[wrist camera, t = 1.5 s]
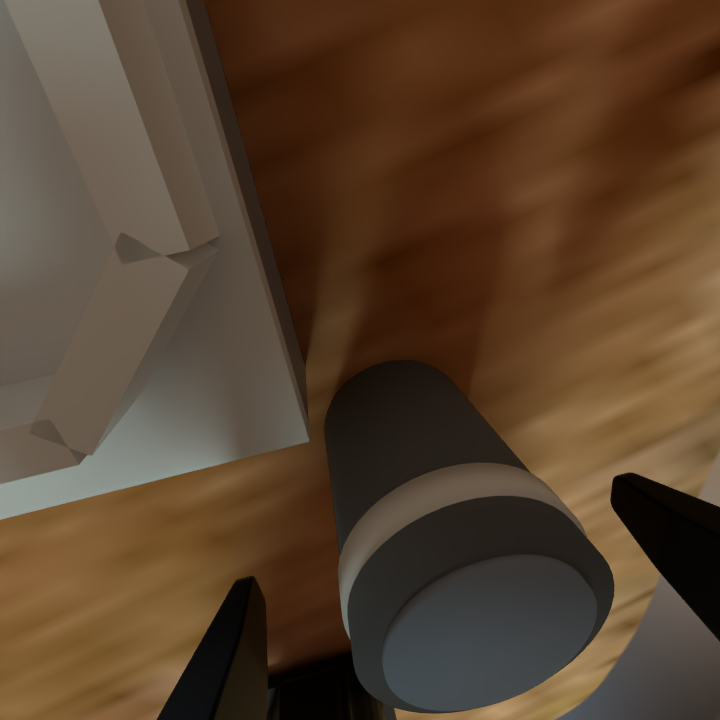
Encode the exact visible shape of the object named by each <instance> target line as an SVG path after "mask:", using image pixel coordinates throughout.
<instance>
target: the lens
mask: <svg viewBox="0 0 720 720" xmlns="http://www.w3.org/2000/svg"><path fill="white" fill-rule="evenodd" d="M324 430H325V442H326V450H327V458H328V466H329V474H330V482H331V490H332V498H333V506H334V514H335V521H336V529H337V537H338V545H339V553H340V559H339V565H338V583H339V592H340V601H341V610H342V618H343V623H344V627H345V630H346V632H347V634H348V637H349V639H350V641H351V649H352V657H353V664H354V668H355V673H356V675H357V677H358V679H359V681H360V683H361V684H362V686H363V687H364V688H365V690H366V691H367V692H368V693H370V694H371V695H372V696H373V697H374V698H376V699H378V700H379V701H381V702H383V703H384V704H387V705H389V706H392V707H394V708H398V709H401V710H405V711H411V712H418V713H451V712H459V711H466V710H471V709H476V708H480V707H485V706H489V705H492V704H496V703H499V702H502V701H505V700H508V699H510V698H513V697H515V696H517V695H520V694H522V693H524V692H526V691H528V690H530V689H532V688H534V687H535V686H537V685H539V684H541V683H542V682H544V681H545V680H547V679H548V678H550V677H551V676H553V675H554V674H556V673H557V672H559V671H560V670H561V669H563V668H564V667H565V666H566V665H568V664H569V663H570V662H571V661H573V660H574V659H575V658H576V657H577V656H578V655H579V654H580V653H581V652H582V651H583V650H584V649H585V648H586V647H587V646H588V645H589V644H590V642H591V641H592V640H593V639H594V637H595V636H596V635H597V633H598V632H599V631H600V629H601V627H602V626H603V624H604V622H605V620H606V619H607V616H608V614H609V611H610V609H611V606H612V601H613V597H614V580H613V574H612V572H611V569H610V567H609V565H608V563H607V562H606V560H605V559H604V557H603V556H602V555H601V554H600V552H599V551H598V550H597V549H596V548H595V547H594V545H593V544H592V543H591V542H590V541H589V540H588V539H587V536H586V534H585V531H584V529H583V527H582V525H581V524H580V522H579V521H578V519H577V518H576V517H575V515H574V514H573V513H572V512H571V511H570V510H569V509H568V508H567V506H566V505H565V504H564V503H563V502H562V501H561V500H560V499H559V497H558V496H557V495H556V494H555V493H554V492H553V491H552V489H551V488H550V487H549V486H548V485H547V484H545V483H544V482H543V481H542V480H541V479H539V478H538V477H536V476H535V475H533V474H532V473H531V472H530V471H529V470H528V469H527V468H526V467H525V465H524V464H523V463H522V462H521V461H520V460H519V459H518V457H517V456H516V455H515V454H514V453H513V452H512V450H511V449H510V448H509V447H508V446H507V445H506V443H505V442H504V441H503V440H502V439H501V438H500V436H499V435H498V434H497V433H496V432H495V431H494V430H493V428H492V427H491V426H490V425H489V424H488V423H487V421H486V420H485V419H484V418H483V417H482V416H481V414H480V413H479V412H478V411H477V410H476V409H475V407H474V406H473V405H472V404H471V403H470V402H469V401H468V399H467V398H466V397H465V396H464V395H463V394H462V392H461V391H460V390H459V389H458V388H457V387H456V385H455V384H454V383H453V382H452V381H451V380H450V379H449V378H448V377H447V376H446V375H445V374H444V373H442V372H441V371H440V370H438V369H436V368H434V367H432V366H430V365H427V364H425V363H421V362H416V361H408V360H398V361H390V362H384V363H381V364H378V365H374V366H372V367H370V368H368V369H365V370H364V371H362V372H360V373H358V374H357V375H355V376H354V377H353V378H352V379H350V380H349V381H348V382H347V383H346V384H345V385H344V386H343V387H342V388H341V389H340V390H339V392H338V393H337V394H336V395H335V397H334V399H333V400H332V402H331V404H330V406H329V409H328V411H327V415H326V419H325V426H324Z"/></svg>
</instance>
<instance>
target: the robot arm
mask: <svg viewBox="0 0 720 720" xmlns="http://www.w3.org/2000/svg"><path fill="white" fill-rule="evenodd" d="M610 501H611V505H612V507H613V509H614V511H615V512H616V514H617V515H618V517H619V518H620V519H621V521H622V522H623V523H624V525H625V526H626V528H627V529H628V530H629V532H630V533H631V534H632V536H633V537H634V539H635V540H636V541H637V543H638V544H639V545H640V547H641V548H642V549H643V551H644V552H645V554H646V555H647V556H648V558H649V559H650V560H651V562H652V563H653V564H654V566H655V567H656V568H657V569H658V571H659V572H660V573H661V574H662V575H663V577H664V578H665V579H666V580H667V581H668V583H669V584H670V585H671V586H672V587H673V588H674V589H675V590H676V592H677V593H678V594H679V595H680V596H681V598H682V599H683V600H684V601H685V602H686V603H687V604H688V605H689V607H690V608H691V609H692V610H693V611H694V613H695V614H696V615H697V616H698V617H699V618H700V619H701V621H702V622H703V623H704V624H705V625H706V626H707V628H708V629H709V630H710V631H711V632H712V633H713V634H714V635H715V637H716V638H717V639H718V640H719V641H720V507H718V506H716V505H713V504H711V503H708V502H705V501H703V500H701V499H698V498H696V497H693V496H691V495H688V494H686V493H683V492H681V491H678V490H675V489H673V488H670V487H668V486H665V485H663V484H660V483H658V482H655V481H653V480H650V479H648V478H645V477H643V476H640V475H638V474H635V473H624V474H621V475H617V476H615V477H614V478H613V482H612V490H611V498H610ZM157 720H397V719H396V714H395V710H394V707H392V706H389V705H387V704H384V703H383V702H381V701H379V700H378V699H376V698H374V697H373V696H372V695H371V694H370V693H368V692H367V691H366V690H365V688H364V687H363V686H362V684H361V683H360V681H359V679H358V677H357V675H356V673H355V668H354V664H353V657H352V655H349V656H346V657H343V658H339V659H336V660H332V661H329V662H326V663H322V664H319V665H315V666H312V667H309V668H305V669H302V670H298V671H295V672H291V673H288V674H285V675H281V676H278V677H274V678H271V679H268V659H267V621H266V603H265V598H264V596H263V593H262V591H261V589H260V587H259V585H258V582H257V580H256V578H255V577H254V576H249V577H245V578H241V579H238V580H237V581H235V583H234V584H233V586H232V587H231V589H230V591H229V593H228V595H227V596H226V598H225V600H224V602H223V603H222V605H221V607H220V609H219V610H218V612H217V614H216V616H215V617H214V619H213V621H212V623H211V625H210V626H209V628H208V630H207V632H206V633H205V635H204V637H203V639H202V640H201V642H200V644H199V646H198V647H197V649H196V651H195V653H194V655H193V656H192V658H191V660H190V662H189V663H188V665H187V667H186V669H185V670H184V672H183V674H182V676H181V677H180V679H179V681H178V683H177V684H176V686H175V688H174V690H173V692H172V693H171V695H170V697H169V699H168V700H167V702H166V704H165V706H164V707H163V709H162V711H161V713H160V714H159V716H158V718H157Z"/></svg>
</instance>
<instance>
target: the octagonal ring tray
mask: <svg viewBox="0 0 720 720" xmlns="http://www.w3.org/2000/svg"><path fill="white" fill-rule="evenodd" d="M307 442H310V440H309V423H308V406H307V390H306V373H305V365H304V361H303V358H302V354H301V350H300V347H299V343H298V340H297V336H296V332H295V329H294V325H293V321H292V318H291V314H290V311H289V307H288V303H287V300H286V296H285V292H284V289H283V285H282V281H281V278H280V274H279V271H278V267H277V263H276V260H275V256H274V252H273V249H272V245H271V242H270V238H269V234H268V231H267V227H266V223H265V220H264V216H263V213H262V209H261V205H260V202H259V198H258V194H257V191H256V187H255V184H254V180H253V176H252V173H251V169H250V165H249V162H248V158H247V155H246V151H245V147H244V144H243V140H242V136H241V133H240V129H239V126H238V122H237V118H236V115H235V111H234V107H233V104H232V100H231V97H230V93H229V89H228V86H227V82H226V78H225V75H224V71H223V68H222V64H221V60H220V57H219V53H218V49H217V46H216V42H215V39H214V35H213V31H212V28H211V24H210V20H209V17H208V13H207V10H206V6H205V2H204V0H0V520H1V519H5V518H8V517H12V516H16V515H20V514H24V513H28V512H32V511H36V510H40V509H44V508H48V507H52V506H56V505H60V504H64V503H68V502H72V501H76V500H80V499H84V498H88V497H92V496H96V495H100V494H104V493H108V492H112V491H116V490H120V489H124V488H128V487H132V486H136V485H140V484H144V483H148V482H152V481H156V480H159V479H163V478H167V477H171V476H175V475H179V474H183V473H187V472H191V471H195V470H199V469H203V468H207V467H211V466H215V465H219V464H223V463H227V462H231V461H235V460H239V459H243V458H247V457H251V456H255V455H259V454H263V453H267V452H271V451H275V450H279V449H283V448H287V447H291V446H295V445H299V444H303V443H307Z"/></svg>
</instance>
